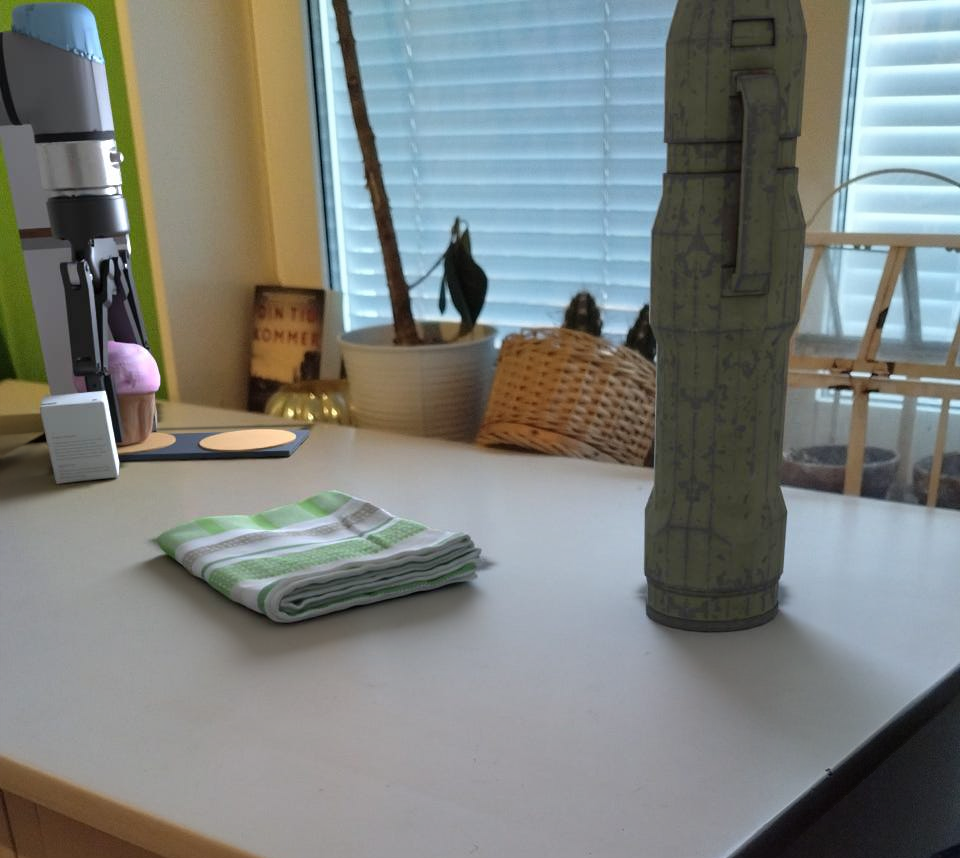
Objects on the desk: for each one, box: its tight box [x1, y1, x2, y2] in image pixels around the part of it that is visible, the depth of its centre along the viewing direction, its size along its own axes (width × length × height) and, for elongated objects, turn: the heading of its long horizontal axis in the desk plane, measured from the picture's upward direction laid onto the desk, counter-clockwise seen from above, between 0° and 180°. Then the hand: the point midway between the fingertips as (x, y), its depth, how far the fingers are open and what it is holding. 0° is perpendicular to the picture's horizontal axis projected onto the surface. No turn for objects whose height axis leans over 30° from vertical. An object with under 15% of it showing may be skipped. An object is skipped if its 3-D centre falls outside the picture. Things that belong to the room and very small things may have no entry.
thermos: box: [643, 0, 808, 632], centre depth 78 cm, size 9×12×35 cm
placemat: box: [116, 428, 310, 462], centre depth 138 cm, size 24×10×1 cm, turn 85°
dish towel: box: [156, 489, 485, 624], centre depth 98 cm, size 17×23×4 cm
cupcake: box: [72, 341, 161, 446], centre depth 136 cm, size 9×9×10 cm
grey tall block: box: [0, 124, 158, 433], centre depth 143 cm, size 11×11×35 cm
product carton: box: [39, 391, 120, 485], centre depth 128 cm, size 6×6×7 cm
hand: (125, 431), depth 138 cm, fingers closed on cupcake, 9 cm apart
